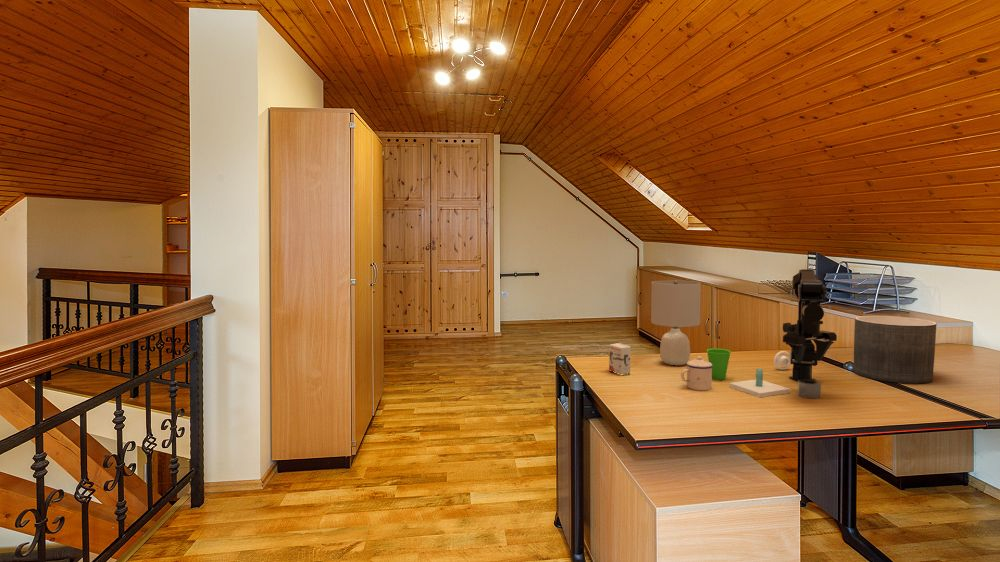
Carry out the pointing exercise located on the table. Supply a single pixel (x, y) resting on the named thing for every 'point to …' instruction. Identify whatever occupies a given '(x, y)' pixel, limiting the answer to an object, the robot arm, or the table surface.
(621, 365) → the ink box
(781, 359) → the ring around a ball
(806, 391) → the steel collar
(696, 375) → the teacup with lid
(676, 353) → the lamp
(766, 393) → the post block
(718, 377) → the cup
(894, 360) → the planter
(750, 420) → the table surface
